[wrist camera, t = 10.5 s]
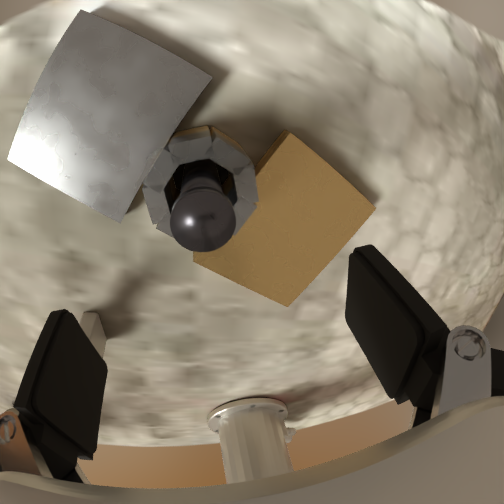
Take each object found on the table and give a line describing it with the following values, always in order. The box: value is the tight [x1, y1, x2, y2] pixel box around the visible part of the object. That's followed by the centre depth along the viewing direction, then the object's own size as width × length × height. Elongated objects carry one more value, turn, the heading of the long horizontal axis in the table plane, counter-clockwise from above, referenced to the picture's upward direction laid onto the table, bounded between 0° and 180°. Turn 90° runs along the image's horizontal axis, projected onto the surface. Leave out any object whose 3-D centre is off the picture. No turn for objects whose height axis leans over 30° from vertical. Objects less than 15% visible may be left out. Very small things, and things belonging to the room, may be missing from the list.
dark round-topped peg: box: [170, 158, 236, 252], centre depth 17 cm, size 3×3×9 cm
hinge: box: [8, 10, 376, 307], centre depth 18 cm, size 27×12×5 cm, turn 53°
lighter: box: [79, 312, 107, 359], centre depth 22 cm, size 7×2×8 cm, turn 175°
